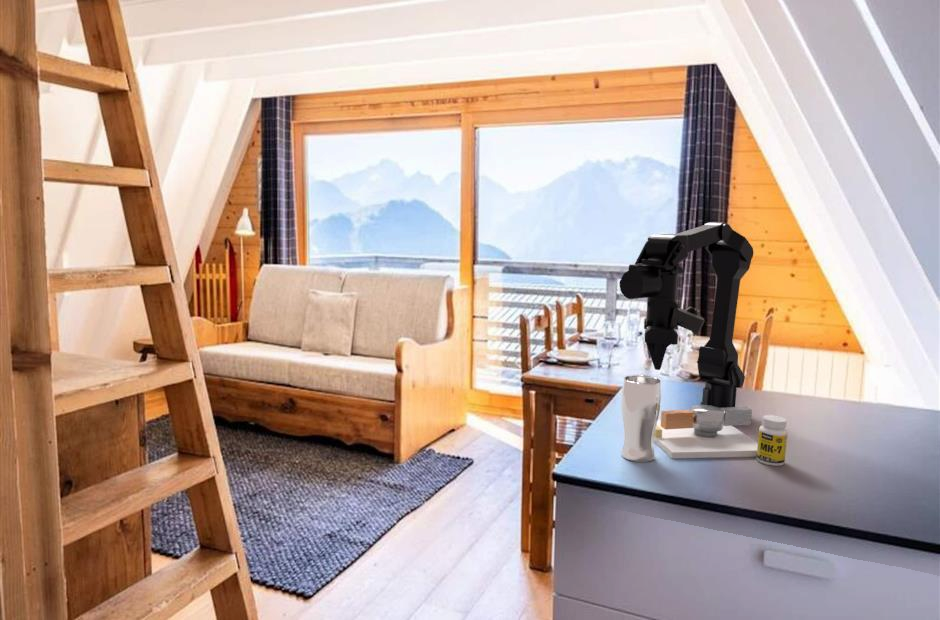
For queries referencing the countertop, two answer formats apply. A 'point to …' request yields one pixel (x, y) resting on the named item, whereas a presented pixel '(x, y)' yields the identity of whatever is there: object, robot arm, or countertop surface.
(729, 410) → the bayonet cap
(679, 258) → the robot arm
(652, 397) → the beer glass
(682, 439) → the coupling board
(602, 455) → the countertop surface
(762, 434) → the supplement bottle
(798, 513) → the countertop surface
